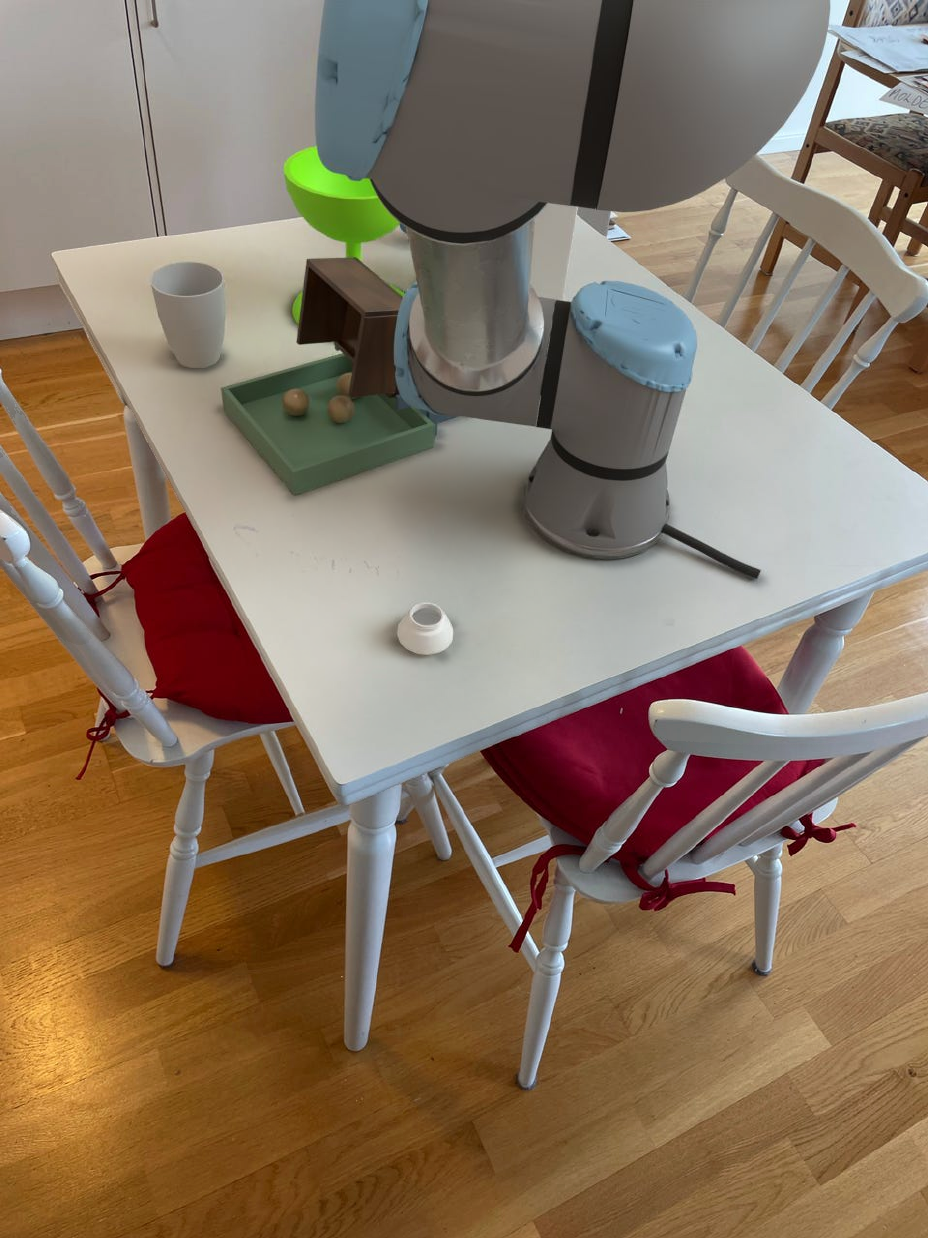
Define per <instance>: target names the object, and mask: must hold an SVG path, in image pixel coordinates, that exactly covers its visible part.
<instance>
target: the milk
mask: <svg viewBox="0 0 928 1238" xmlns="http://www.w3.org/2000/svg"><path fill="white" fill-rule="evenodd" d="M578 209H579V207H576V206H566V205H559V204H551V203H548V204H547V206H546V207H545V208H544V209H543V210H542V211H541V212H540V213H539V214H538V215H537V216H536V217H535V226H534V239H533V251H532V263H531V276H530V284H531V286H532V287H533V289H534V290H535V292H536V294H537V296H538V297H543V298H550V299H555V302H556V300H561V301H564V295H565V290H566V284H567V277H568V270H569V264H570V258H571V252H572V248H573V247H572V246H573V241H574V234H575V228H576V221H577V215H578ZM553 313H554V312H553ZM551 327H552V325H551ZM550 333H551V332H550Z"/></svg>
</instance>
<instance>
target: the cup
mask: <svg viewBox="0 0 928 1238" xmlns="http://www.w3.org/2000/svg"><path fill="white" fill-rule="evenodd" d="M149 283H150V287H151V292H152V296H153V300H154V305H155V308H156V313H157V316H158V319H159V322H160V325H161V328H162V330H163V333H164V336H165V338H166V341H167V344H168V346H169V348H170V350H171V351H172V353H173V355H174V357H175V359H176V361H177V362H178V364H180V365H181V366H183V367H185V368H188V369H189V368H190V369H205V368H209V367H212V366H213V365H215V364H217V362H218V361H219V360H220V357H221V353H222V349H223V346H224V340H225V331H226V329H225V328H226V315H227V310H226V309H227V307H226V306H227V305H226V287H225V286H226V283H225V275H224V273H223V272H222V271H221V270H220V268H217V267H216V266H214V265H211V264H208V263H206V262H200V261H178V262H173V263H172V262H171V263H169V264H165V265H162V266H160V267H158V268H157V269H156V270H154V271H153V272H152V273H151V275H150V277H149Z"/></svg>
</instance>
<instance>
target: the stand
mask: <svg viewBox="0 0 928 1238" xmlns="http://www.w3.org/2000/svg"><path fill="white" fill-rule="evenodd" d="M334 350H336V352H339V351H340V350H339V349H338V348H337V347H336V346H335V345H334ZM407 407H411V406H410V405H408V404H407V403H406V402H405V401H404V400H403V398H402V397H401V395H400V394H399V395H396V398H395V408H396V409H397V410H401V409H404V408H407ZM419 410H420V411H421V412H422V413H423V414H424V415H425V416H426V417H428V418H429V419H430V420H431V421H432V422H433V423H434V424H435V436H437V434H438V423H441V422H445V421H447V420H450V419H454V418H457V417H458V416H456V415H448V414H445V415H436V414H432V413H430V412H428V411H425V410H421V409H419Z"/></svg>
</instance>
